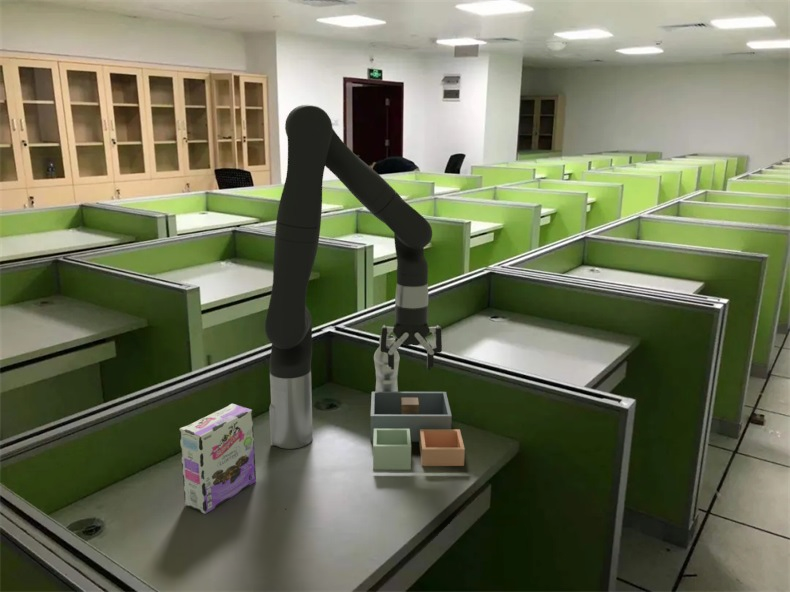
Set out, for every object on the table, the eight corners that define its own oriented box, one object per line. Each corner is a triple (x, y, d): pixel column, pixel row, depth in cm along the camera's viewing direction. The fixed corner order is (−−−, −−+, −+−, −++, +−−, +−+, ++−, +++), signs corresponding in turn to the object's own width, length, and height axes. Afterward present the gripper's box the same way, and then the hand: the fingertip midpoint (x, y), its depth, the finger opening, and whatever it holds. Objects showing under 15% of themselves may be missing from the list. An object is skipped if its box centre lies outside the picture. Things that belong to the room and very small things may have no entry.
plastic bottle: (396, 416, 158) (397, 342, 153) (370, 414, 159) (371, 340, 154) (401, 406, 164) (402, 333, 159) (376, 403, 165) (377, 331, 160)
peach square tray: (421, 468, 134) (422, 449, 133) (419, 447, 143) (419, 429, 142) (463, 468, 135) (464, 449, 133) (458, 447, 143) (459, 429, 142)
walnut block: (401, 431, 149) (401, 404, 147) (401, 423, 153) (401, 397, 151) (418, 431, 149) (418, 404, 147) (417, 423, 153) (417, 397, 151)
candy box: (205, 515, 117) (198, 436, 113) (184, 505, 120) (177, 427, 116) (257, 481, 129) (253, 408, 124) (236, 473, 132) (232, 401, 127)
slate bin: (370, 443, 145) (370, 415, 143) (371, 417, 158) (371, 391, 156) (450, 443, 145) (451, 416, 143) (445, 417, 158) (446, 391, 156)
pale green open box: (373, 471, 133) (373, 446, 131) (373, 452, 141) (373, 428, 139) (410, 471, 133) (411, 446, 131) (409, 452, 141) (409, 428, 139)
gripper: (380, 306, 139) (380, 374, 143) (444, 307, 139) (442, 374, 144) (380, 297, 146) (380, 362, 151) (441, 298, 147) (439, 362, 151)
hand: (410, 368), depth 147 cm, fingers open, 8 cm apart
